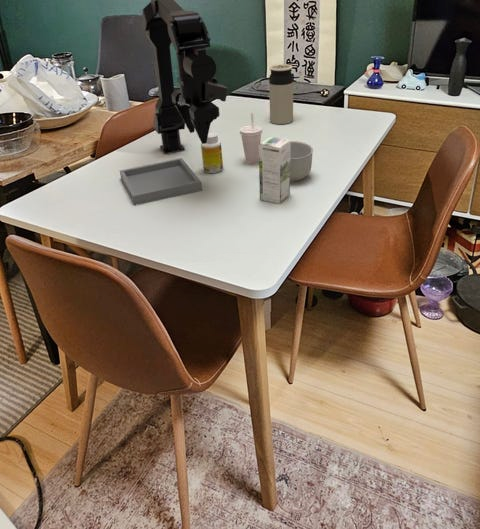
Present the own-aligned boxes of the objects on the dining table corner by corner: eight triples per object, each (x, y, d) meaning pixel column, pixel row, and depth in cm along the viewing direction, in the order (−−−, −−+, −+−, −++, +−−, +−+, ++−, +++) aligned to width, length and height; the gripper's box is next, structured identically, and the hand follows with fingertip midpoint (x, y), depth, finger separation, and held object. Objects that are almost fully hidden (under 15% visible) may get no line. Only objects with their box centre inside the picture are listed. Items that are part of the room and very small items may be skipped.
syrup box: (270, 190, 126) (268, 135, 118) (291, 194, 123) (291, 138, 115) (259, 200, 122) (257, 143, 114) (280, 204, 119) (280, 147, 111)
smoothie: (261, 166, 139) (259, 117, 131) (239, 165, 140) (236, 117, 133) (265, 157, 144) (263, 109, 136) (243, 157, 146) (240, 109, 138)
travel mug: (293, 124, 167) (294, 68, 157) (270, 125, 167) (269, 70, 157) (292, 116, 174) (292, 63, 164) (269, 118, 174) (268, 64, 164)
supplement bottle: (224, 172, 137) (222, 136, 131) (205, 175, 136) (201, 139, 131) (221, 164, 142) (218, 130, 136) (202, 167, 141) (198, 132, 135)
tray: (121, 178, 138) (119, 170, 136) (182, 166, 143) (181, 158, 141) (134, 205, 124) (132, 196, 122) (202, 190, 129) (201, 181, 127)
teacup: (315, 170, 135) (316, 142, 130) (307, 187, 126) (307, 157, 122) (267, 166, 139) (266, 139, 134) (255, 182, 131) (254, 153, 126)
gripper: (238, 76, 110) (242, 143, 119) (209, 61, 125) (214, 121, 133) (191, 83, 107) (198, 152, 116) (167, 67, 121) (175, 129, 130)
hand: (198, 137), depth 124 cm, fingers open, 9 cm apart
